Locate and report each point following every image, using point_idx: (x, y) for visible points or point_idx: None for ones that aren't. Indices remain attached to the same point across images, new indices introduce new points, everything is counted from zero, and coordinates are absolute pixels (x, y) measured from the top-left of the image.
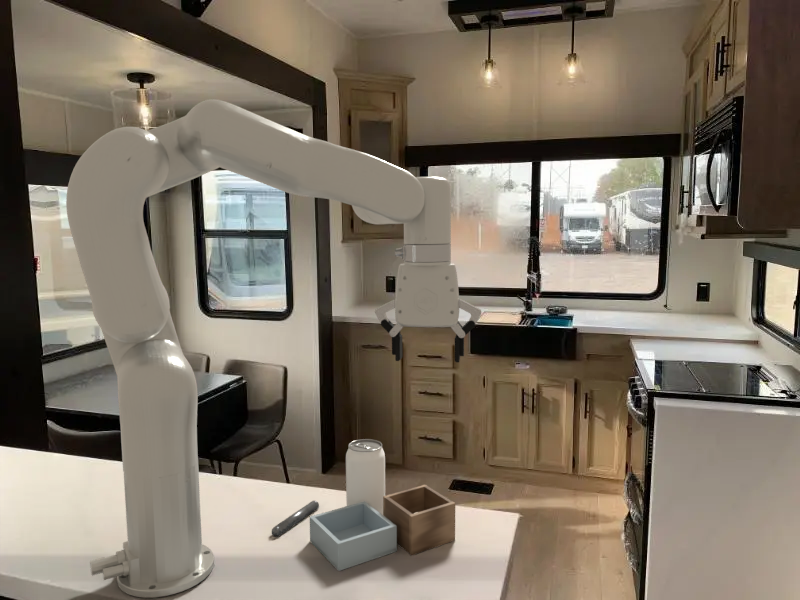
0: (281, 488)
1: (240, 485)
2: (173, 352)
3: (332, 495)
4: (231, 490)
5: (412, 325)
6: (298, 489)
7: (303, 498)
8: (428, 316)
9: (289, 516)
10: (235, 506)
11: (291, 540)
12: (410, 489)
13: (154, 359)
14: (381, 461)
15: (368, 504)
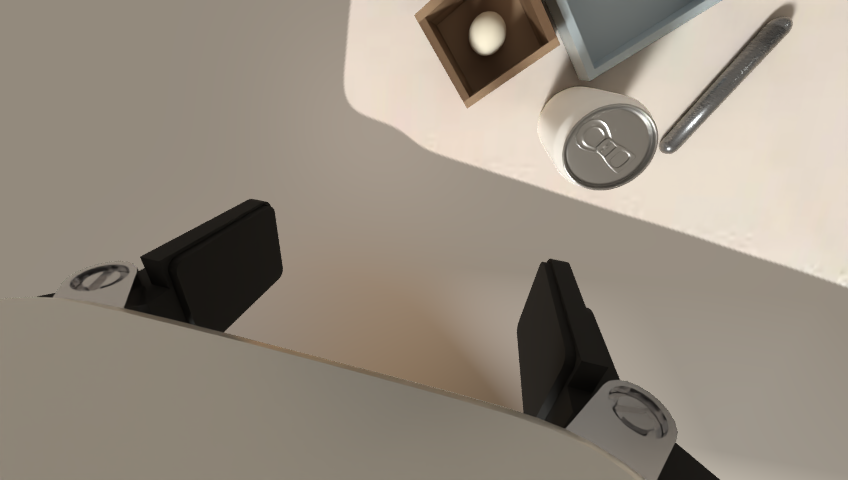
0: (717, 224)
1: (802, 241)
2: None
3: (622, 193)
4: (828, 222)
5: (449, 393)
6: (683, 218)
7: (680, 184)
8: (149, 466)
9: (739, 82)
10: (837, 156)
11: (742, 6)
12: (498, 82)
13: None
14: (563, 117)
15: (584, 64)
